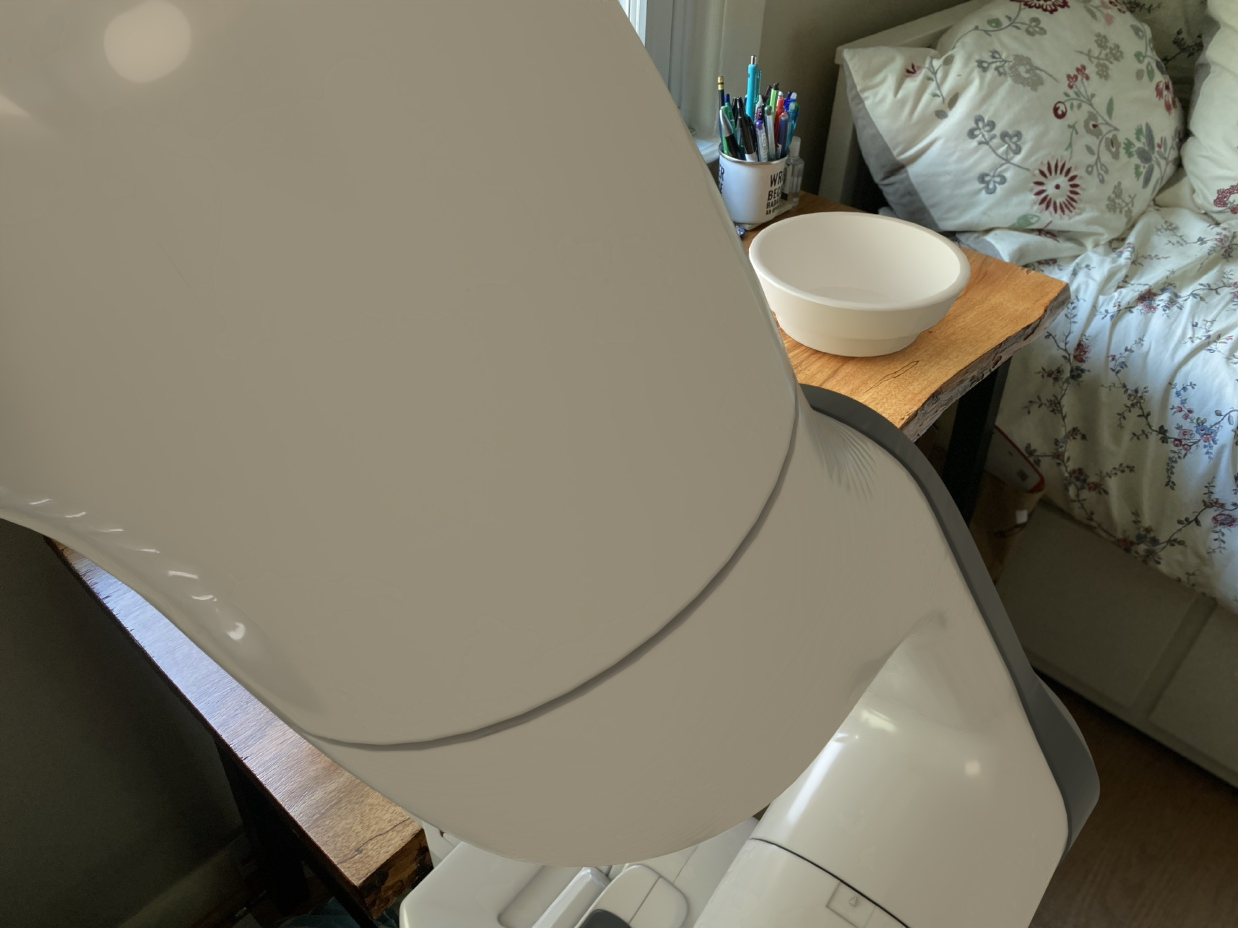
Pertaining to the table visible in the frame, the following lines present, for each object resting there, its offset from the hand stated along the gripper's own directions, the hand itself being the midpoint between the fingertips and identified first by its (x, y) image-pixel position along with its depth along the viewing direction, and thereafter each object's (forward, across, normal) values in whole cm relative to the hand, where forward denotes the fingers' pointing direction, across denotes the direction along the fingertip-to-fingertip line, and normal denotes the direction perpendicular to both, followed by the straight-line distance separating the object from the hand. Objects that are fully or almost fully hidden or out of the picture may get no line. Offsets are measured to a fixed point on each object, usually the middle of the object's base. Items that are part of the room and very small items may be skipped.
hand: (477, 731), depth 51 cm
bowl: (+11, -66, +9) cm, 67 cm away
